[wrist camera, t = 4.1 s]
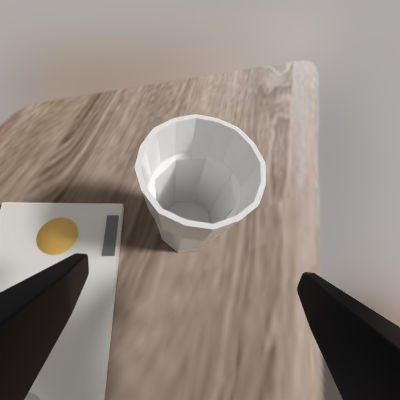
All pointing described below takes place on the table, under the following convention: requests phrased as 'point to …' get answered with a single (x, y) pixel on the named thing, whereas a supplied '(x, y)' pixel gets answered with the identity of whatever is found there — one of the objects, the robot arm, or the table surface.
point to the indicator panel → (90, 296)
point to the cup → (199, 178)
